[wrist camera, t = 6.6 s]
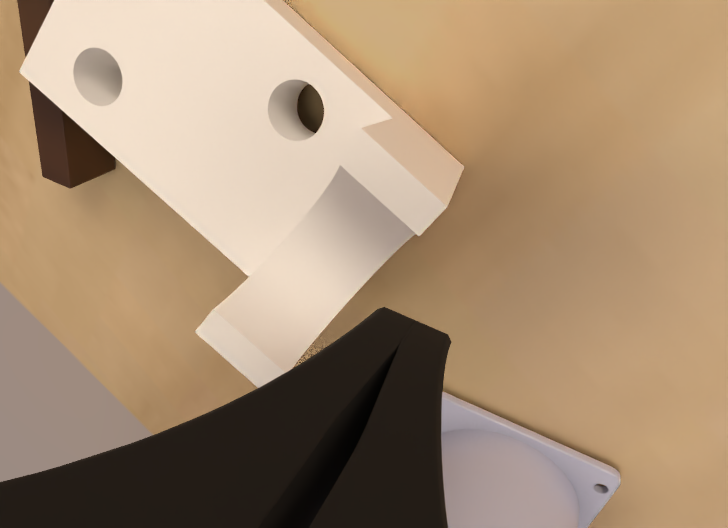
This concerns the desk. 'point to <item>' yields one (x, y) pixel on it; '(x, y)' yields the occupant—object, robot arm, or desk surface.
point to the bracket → (249, 153)
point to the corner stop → (59, 121)
